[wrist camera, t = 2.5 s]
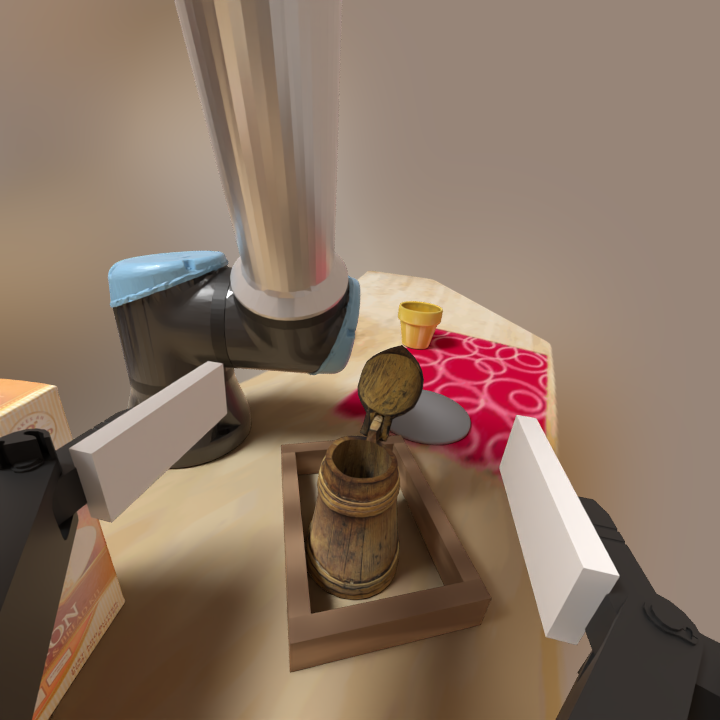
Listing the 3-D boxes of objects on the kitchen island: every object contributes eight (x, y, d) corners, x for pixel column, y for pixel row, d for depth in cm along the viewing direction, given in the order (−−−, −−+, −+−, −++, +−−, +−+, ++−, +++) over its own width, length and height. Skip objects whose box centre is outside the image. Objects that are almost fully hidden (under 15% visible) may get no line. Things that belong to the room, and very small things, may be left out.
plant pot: (390, 336, 87) (395, 299, 83) (428, 337, 88) (434, 301, 84) (399, 351, 78) (405, 311, 74) (441, 353, 79) (449, 313, 75)
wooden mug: (418, 498, 38) (449, 354, 31) (381, 619, 26) (417, 435, 19) (347, 472, 41) (360, 334, 33) (285, 572, 29) (284, 394, 22)
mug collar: (281, 467, 40) (281, 444, 39) (397, 456, 44) (401, 435, 43) (290, 672, 23) (289, 644, 21) (480, 624, 27) (491, 598, 25)
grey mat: (366, 393, 59) (366, 390, 58) (443, 389, 62) (443, 387, 62) (393, 449, 46) (394, 445, 45) (488, 440, 49) (489, 437, 49)
